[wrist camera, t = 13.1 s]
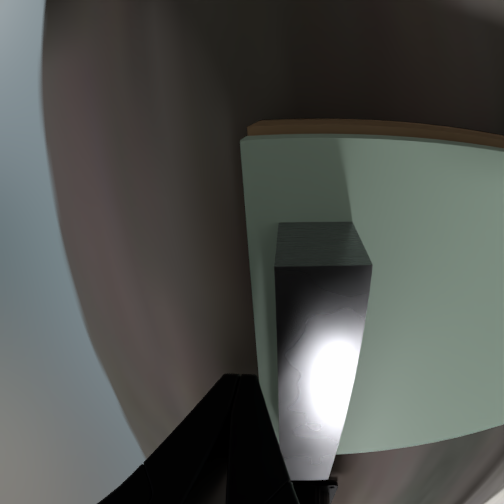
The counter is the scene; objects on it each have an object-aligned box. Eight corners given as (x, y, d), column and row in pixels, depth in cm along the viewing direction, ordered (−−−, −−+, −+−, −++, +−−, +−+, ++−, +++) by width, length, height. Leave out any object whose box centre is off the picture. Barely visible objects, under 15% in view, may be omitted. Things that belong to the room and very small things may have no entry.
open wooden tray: (523, 345, 14) (550, 388, 10) (274, 370, 16) (268, 433, 12) (575, 153, 9) (627, 175, 5) (260, 120, 11) (246, 126, 7)
